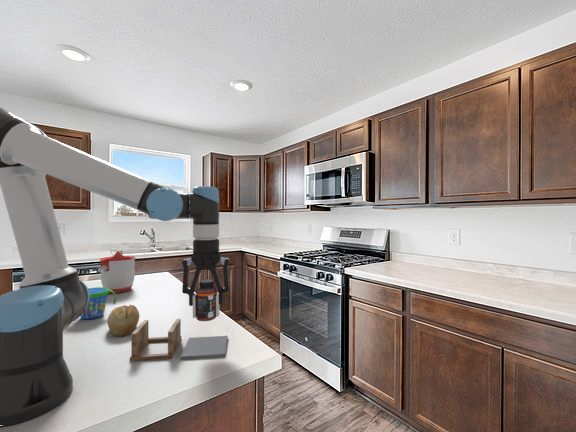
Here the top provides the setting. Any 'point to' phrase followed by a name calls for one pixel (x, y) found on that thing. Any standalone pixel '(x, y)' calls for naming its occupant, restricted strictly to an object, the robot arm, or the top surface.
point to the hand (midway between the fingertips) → (206, 315)
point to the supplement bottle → (206, 301)
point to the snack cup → (96, 302)
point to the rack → (141, 340)
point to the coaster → (205, 347)
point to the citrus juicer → (117, 272)
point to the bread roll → (123, 320)
